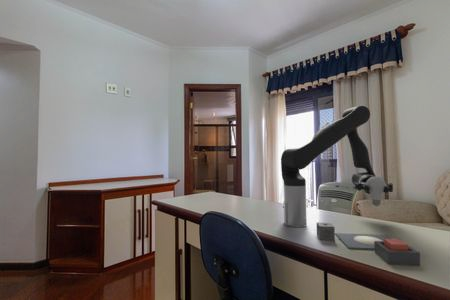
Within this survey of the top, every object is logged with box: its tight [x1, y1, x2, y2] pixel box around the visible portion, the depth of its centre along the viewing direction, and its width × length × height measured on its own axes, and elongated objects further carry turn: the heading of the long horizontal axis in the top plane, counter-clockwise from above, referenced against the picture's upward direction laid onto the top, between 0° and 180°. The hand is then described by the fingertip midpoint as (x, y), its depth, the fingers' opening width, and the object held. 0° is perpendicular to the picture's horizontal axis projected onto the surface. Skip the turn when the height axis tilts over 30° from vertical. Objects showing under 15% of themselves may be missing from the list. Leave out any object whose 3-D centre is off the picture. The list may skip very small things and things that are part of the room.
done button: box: [384, 238, 409, 251], centre depth 70 cm, size 4×4×2 cm
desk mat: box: [335, 232, 393, 251], centre depth 83 cm, size 18×14×1 cm
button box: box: [374, 241, 421, 266], centre depth 70 cm, size 8×8×4 cm
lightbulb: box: [366, 175, 387, 207], centre depth 89 cm, size 6×6×11 cm
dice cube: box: [316, 221, 336, 242], centre depth 88 cm, size 5×5×5 cm
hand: (377, 189), depth 86 cm, fingers closed on lightbulb, 5 cm apart
